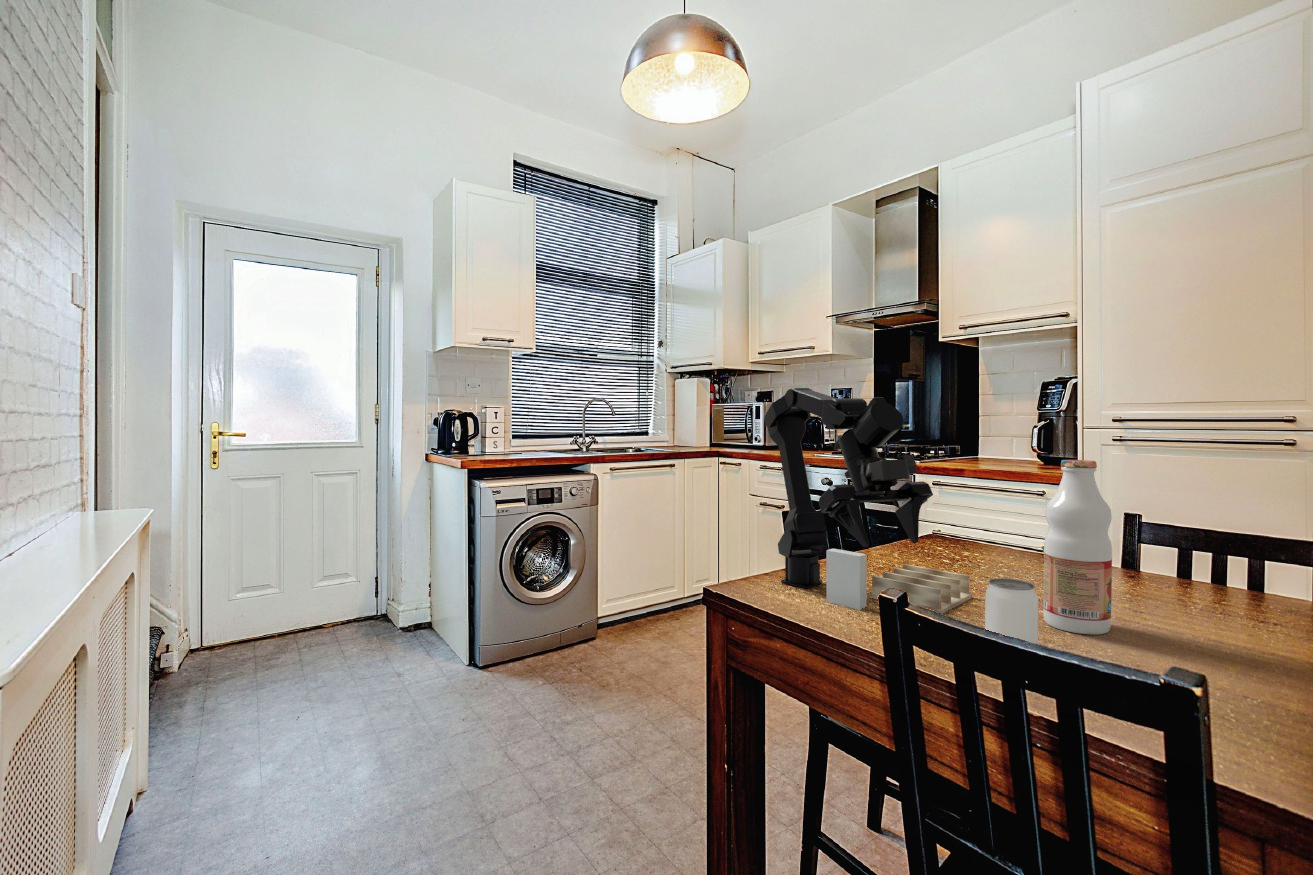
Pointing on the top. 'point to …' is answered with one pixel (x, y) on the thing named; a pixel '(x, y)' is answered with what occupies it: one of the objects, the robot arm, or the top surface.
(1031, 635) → the can
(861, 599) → the grey upright domino
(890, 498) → the robot arm
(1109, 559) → the fruit juice
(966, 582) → the rack
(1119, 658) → the top surface
